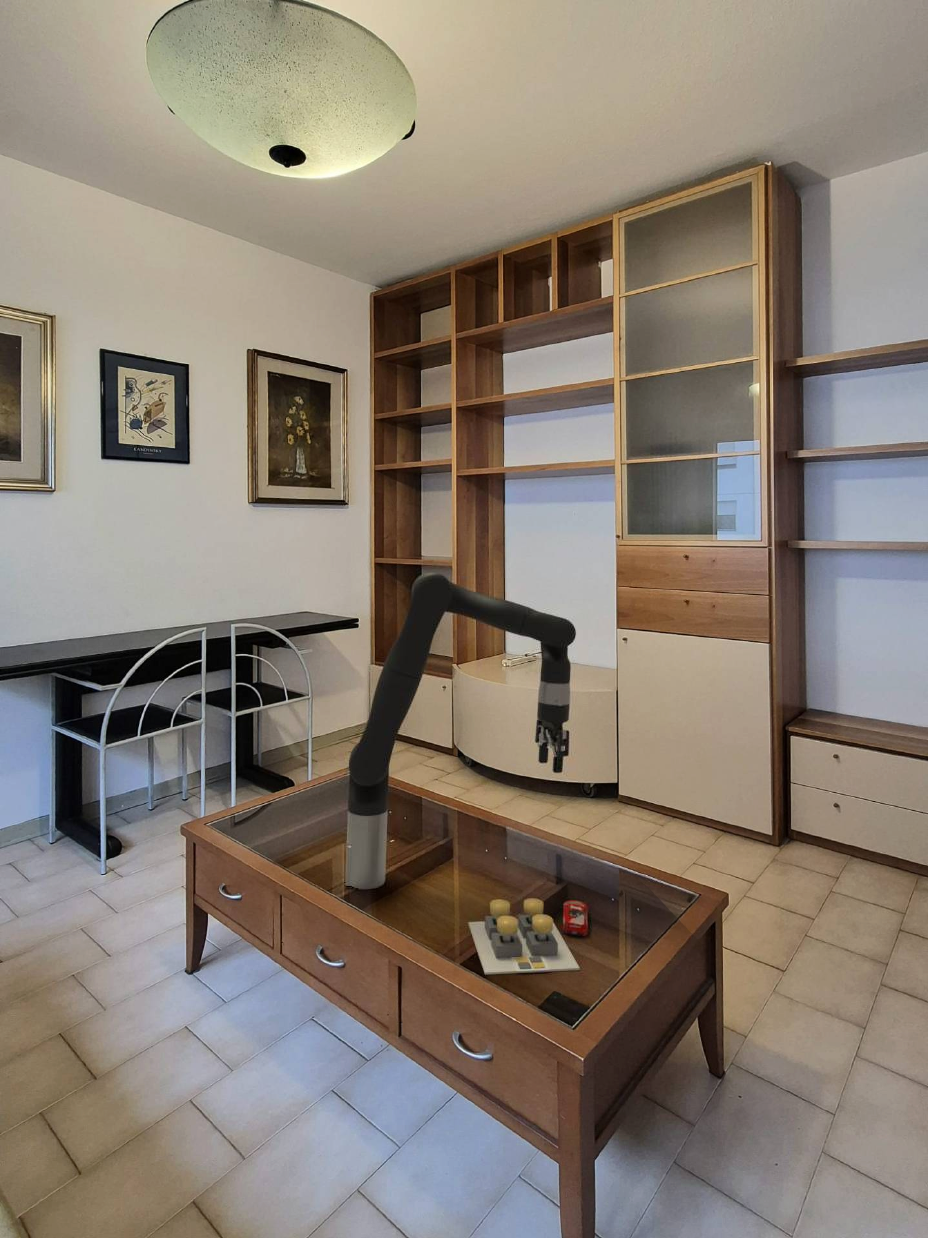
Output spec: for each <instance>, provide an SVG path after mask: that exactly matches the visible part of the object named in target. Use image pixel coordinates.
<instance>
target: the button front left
mask: <svg viewBox="0 0 928 1238" xmlns="http://www.w3.org/2000/svg"><path fill="white" fill-rule="evenodd" d="M497 931H498V932H500V933H502V934H503V943H509V942H511V935H512V934H515V933H517V931H518V918H516V917H515V916H512V915H509V916H500V917H499V918H498V919H497Z"/></svg>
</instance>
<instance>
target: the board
mask: <svg viewBox="0 0 928 1238" xmlns="http://www.w3.org/2000/svg"><path fill="white" fill-rule="evenodd" d="M508 916H510V914H509V915H508ZM517 920H518V931H517V933H515V934H512V935H511V942H509V943H503V934H502V933H500V932H498V931H497V925H495V921H496V916H493V915H485V916H484V921H468V924H467V925H468V927H469V930H470V934H471V936H472V939H473V942H474V945H475V949H476V951H477V955H478V958H479V961H480V964H481V967H482V970H483V973H484V975H502V974H503V975H504V974H505V975H506V974H507V975H508V974H524V973H525V974H527V973H530V974H531V973H546V972H547V973H550V972H567V971H580V969H581V968H580V966H579V965H578V962H577V961H576V959H575V957H574V956H573V954H572V952H571V951H570V949H569V947H568V945H567V944H566V942H565V940H564V938H563V937H562V935H561V933H560V931H559V930H558V928H557V926H556V924H555V923H554V921H553V930H552V931H551V932H550V933H546V941H538V932H536V931H534V930H533V929H532V924H529V915H527V914H518V916H517Z"/></svg>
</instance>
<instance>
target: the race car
mask: <svg viewBox="0 0 928 1238" xmlns="http://www.w3.org/2000/svg"><path fill="white" fill-rule="evenodd" d="M562 907H563V913H562V932H563V933H564V934H567V935H569V936H570V935H571V936H572V935H573V936H580V937H583V936H584V937H585V936H587V934H588V926H589V925H588V924H589V923H588V910H589V909H590V908H589V907H588V906H587V904H586V903H584V902H582V901H579V900H568V901H567V900H566V901H565V902H564V903H563V904H562Z"/></svg>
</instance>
